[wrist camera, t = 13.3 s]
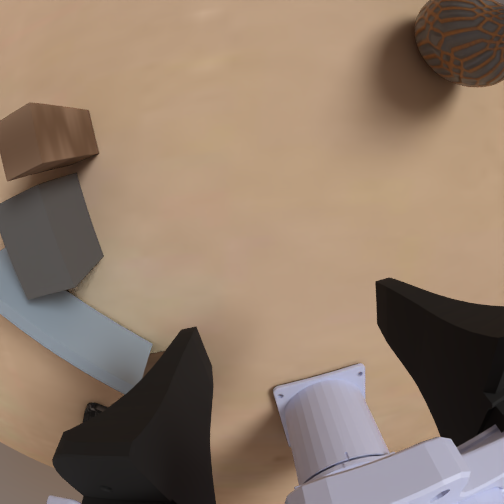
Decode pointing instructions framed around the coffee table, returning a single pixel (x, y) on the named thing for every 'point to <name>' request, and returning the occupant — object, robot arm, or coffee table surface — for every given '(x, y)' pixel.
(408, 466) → the robot arm
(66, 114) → the door frame
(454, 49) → the vase
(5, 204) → the block
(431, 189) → the coffee table surface
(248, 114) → the coffee table surface
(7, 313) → the door
